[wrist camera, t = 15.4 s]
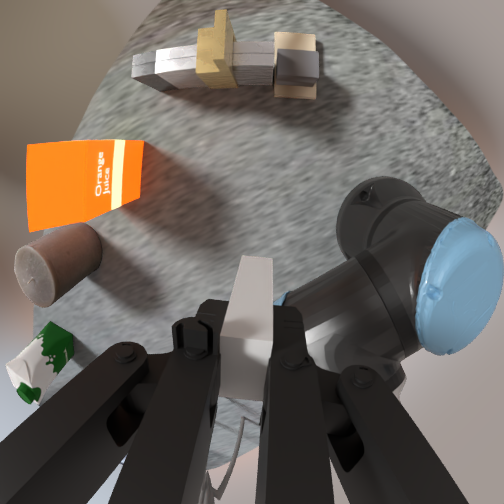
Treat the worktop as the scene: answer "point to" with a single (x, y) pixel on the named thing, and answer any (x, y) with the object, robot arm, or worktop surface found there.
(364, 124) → the worktop surface
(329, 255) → the worktop surface
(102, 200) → the orange juice
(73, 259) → the pillar candle
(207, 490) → the citrus juicer
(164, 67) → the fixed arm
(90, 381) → the robot arm
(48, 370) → the milk carton
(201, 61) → the lock collar
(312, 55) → the stand
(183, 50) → the tongs arm
